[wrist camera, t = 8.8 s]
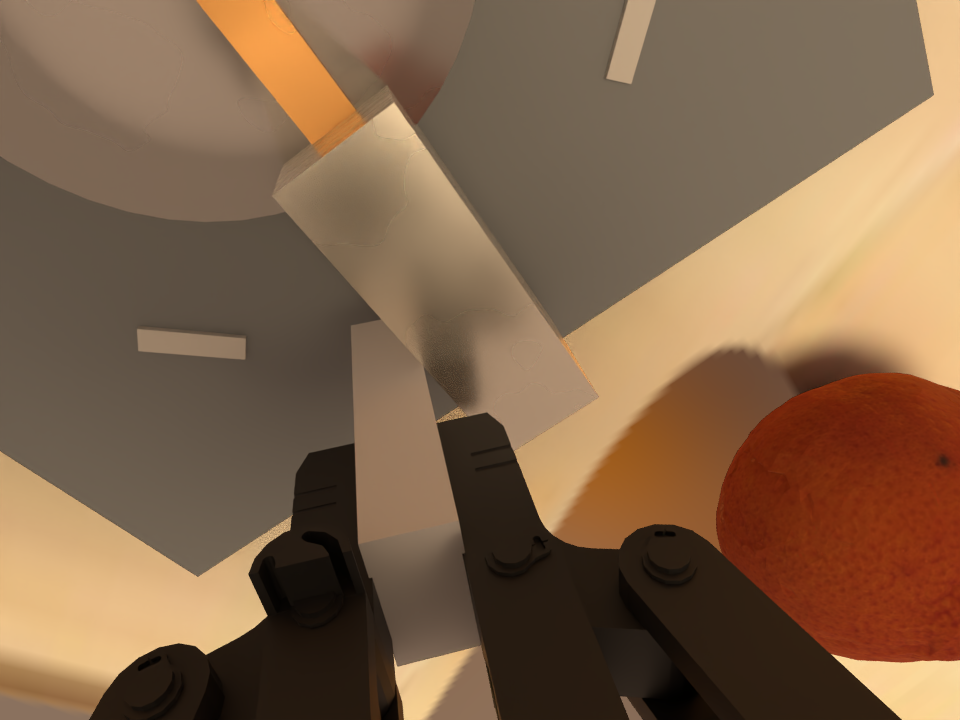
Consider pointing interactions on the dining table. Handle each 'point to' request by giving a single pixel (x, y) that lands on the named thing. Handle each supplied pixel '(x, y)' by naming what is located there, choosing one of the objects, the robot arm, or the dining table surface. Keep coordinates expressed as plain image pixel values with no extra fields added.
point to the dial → (293, 161)
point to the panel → (490, 188)
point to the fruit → (855, 516)
